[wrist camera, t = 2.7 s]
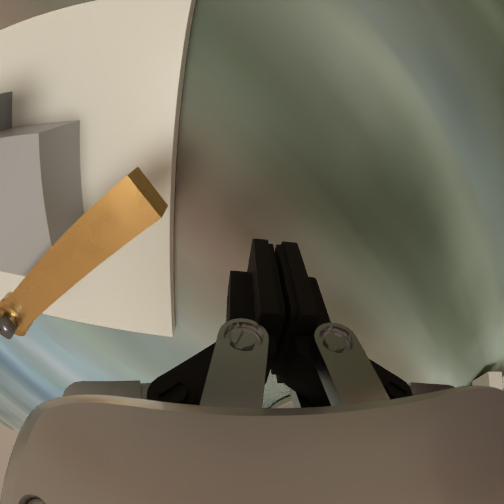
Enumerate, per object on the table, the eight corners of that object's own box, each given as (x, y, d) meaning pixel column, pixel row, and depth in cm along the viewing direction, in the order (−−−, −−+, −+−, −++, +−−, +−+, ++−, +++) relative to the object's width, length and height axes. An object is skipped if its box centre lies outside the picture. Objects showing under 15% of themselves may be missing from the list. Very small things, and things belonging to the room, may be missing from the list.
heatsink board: (175, 325, 28) (157, 412, 19) (-5, 291, 25) (-45, 345, 17) (196, -2, 14) (162, -66, 5) (-35, 51, 11) (-106, 65, 3)
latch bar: (26, 328, 19) (12, 350, 16) (0, 301, 17) (-16, 322, 15) (172, 211, 14) (159, 236, 12) (133, 160, 13) (112, 177, 11)
